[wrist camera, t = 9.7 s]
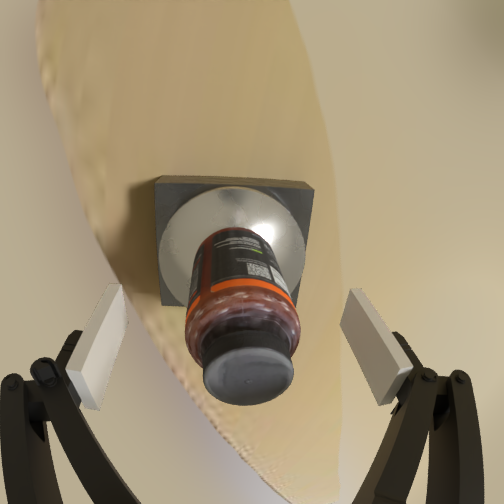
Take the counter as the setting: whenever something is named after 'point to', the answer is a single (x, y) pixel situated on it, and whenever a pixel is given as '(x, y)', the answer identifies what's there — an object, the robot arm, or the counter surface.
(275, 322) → the supplement bottle
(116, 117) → the counter surface
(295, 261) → the kitchen scale
